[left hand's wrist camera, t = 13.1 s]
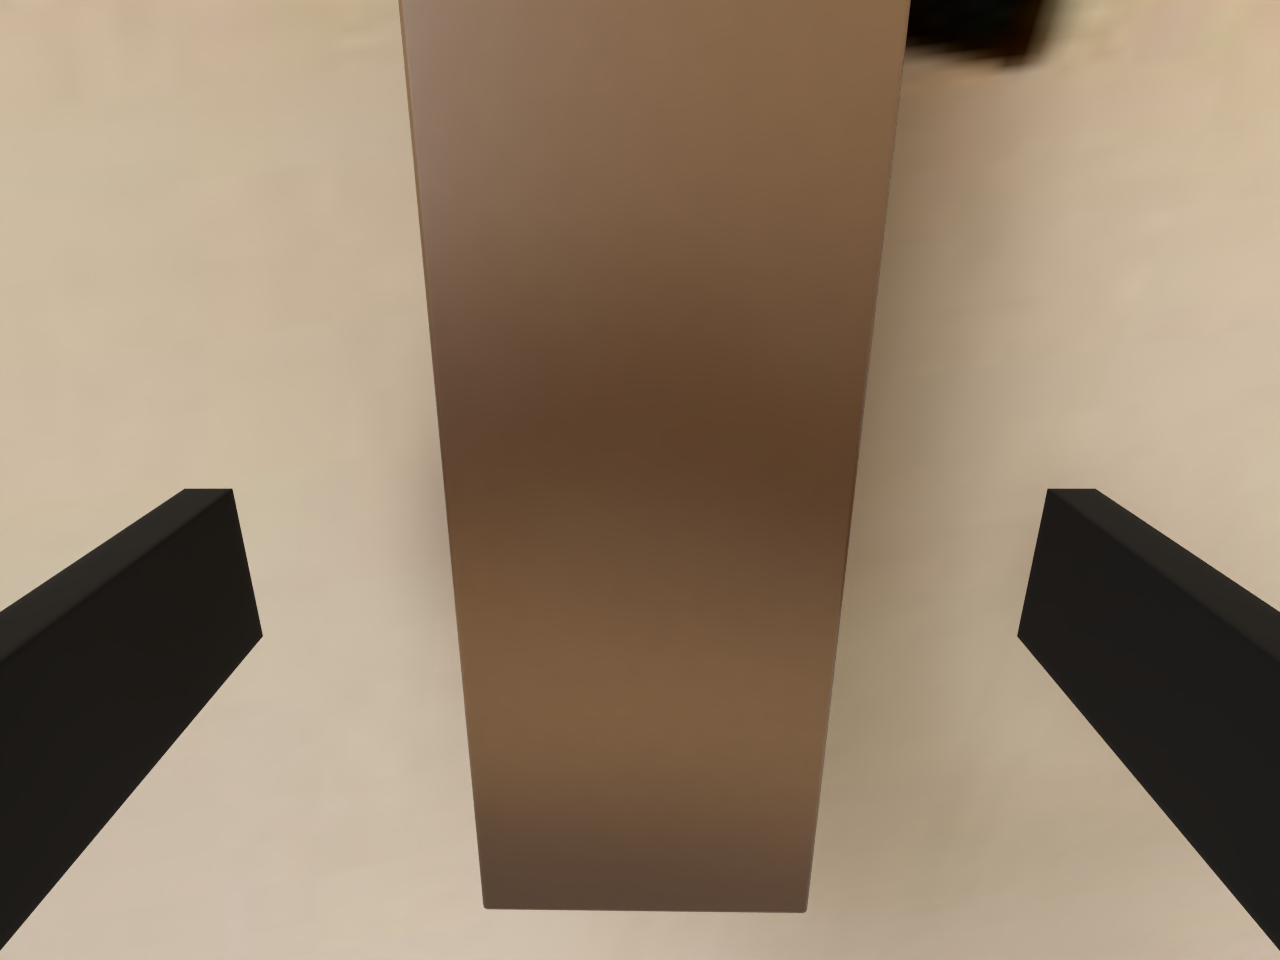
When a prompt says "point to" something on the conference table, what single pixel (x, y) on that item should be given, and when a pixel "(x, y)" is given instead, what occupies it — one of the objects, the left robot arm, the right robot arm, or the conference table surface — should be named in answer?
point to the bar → (650, 421)
